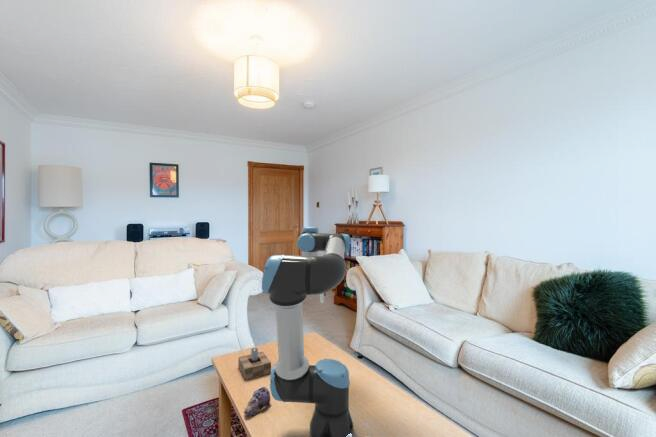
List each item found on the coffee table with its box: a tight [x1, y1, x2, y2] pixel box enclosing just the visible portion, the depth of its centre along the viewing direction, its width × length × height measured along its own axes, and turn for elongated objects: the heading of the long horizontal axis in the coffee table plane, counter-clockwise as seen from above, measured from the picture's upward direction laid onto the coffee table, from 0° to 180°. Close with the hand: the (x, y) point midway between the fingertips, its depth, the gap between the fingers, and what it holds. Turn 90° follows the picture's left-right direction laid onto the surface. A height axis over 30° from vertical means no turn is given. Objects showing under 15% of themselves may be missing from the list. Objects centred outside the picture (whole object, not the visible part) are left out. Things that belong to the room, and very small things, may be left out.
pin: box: [250, 347, 259, 363], centre depth 144 cm, size 3×3×10 cm
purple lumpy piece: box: [243, 386, 271, 418], centre depth 117 cm, size 12×8×6 cm, turn 145°
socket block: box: [237, 351, 272, 381], centre depth 144 cm, size 12×12×5 cm
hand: (309, 305), depth 142 cm, fingers open, 13 cm apart
